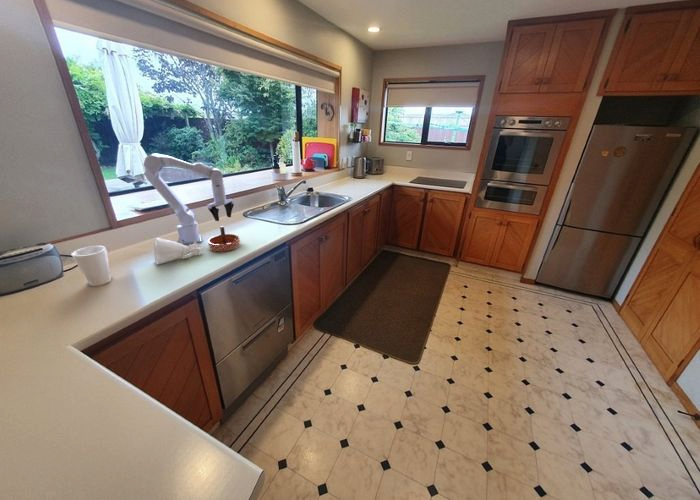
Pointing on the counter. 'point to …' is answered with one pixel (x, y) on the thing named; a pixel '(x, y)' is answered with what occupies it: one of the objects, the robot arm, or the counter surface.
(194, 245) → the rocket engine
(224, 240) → the stick
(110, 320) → the counter surface
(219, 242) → the bowl
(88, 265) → the foam cup
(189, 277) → the counter surface
